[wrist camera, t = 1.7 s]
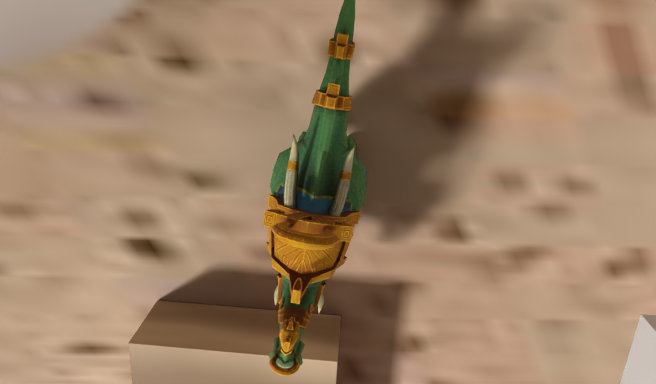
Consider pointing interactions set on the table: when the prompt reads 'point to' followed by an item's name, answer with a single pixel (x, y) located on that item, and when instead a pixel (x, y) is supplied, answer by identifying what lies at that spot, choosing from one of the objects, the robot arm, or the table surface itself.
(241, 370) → the beige rectangular block
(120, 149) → the table surface
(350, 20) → the figurine
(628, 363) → the robot arm
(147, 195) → the table surface
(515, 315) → the table surface
